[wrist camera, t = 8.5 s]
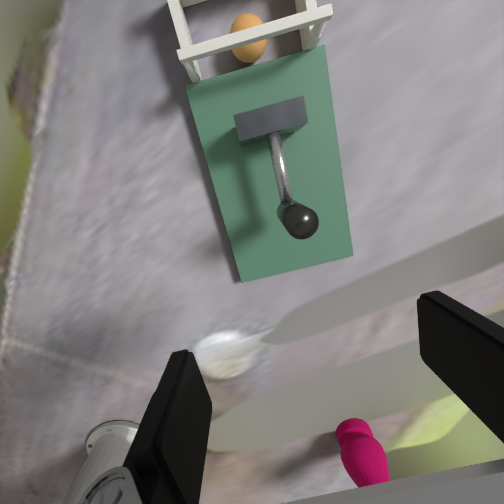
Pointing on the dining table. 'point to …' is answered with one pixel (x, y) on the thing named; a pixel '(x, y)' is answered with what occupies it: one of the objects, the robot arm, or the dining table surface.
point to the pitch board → (261, 169)
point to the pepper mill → (362, 453)
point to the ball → (254, 49)
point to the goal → (247, 32)
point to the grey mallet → (280, 157)
